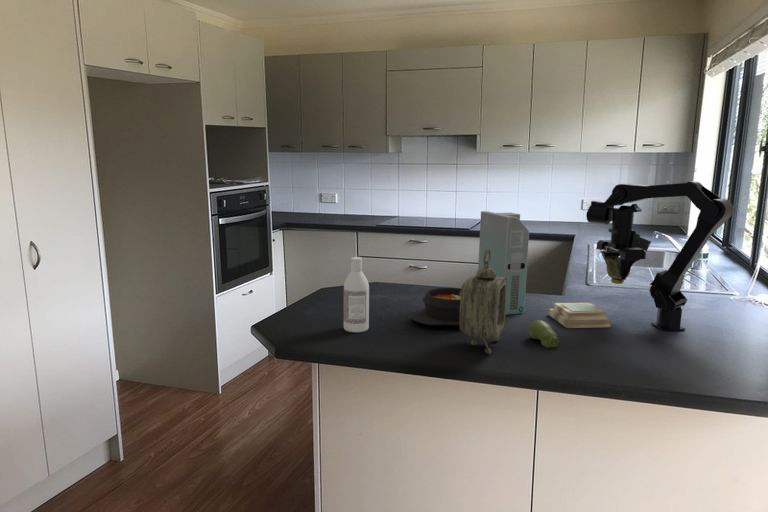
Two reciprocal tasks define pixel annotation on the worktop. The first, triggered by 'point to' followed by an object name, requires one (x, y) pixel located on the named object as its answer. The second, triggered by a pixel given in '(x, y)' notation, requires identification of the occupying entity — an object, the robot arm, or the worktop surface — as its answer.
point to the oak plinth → (579, 315)
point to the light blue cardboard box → (506, 254)
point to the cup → (614, 270)
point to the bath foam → (356, 299)
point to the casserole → (440, 307)
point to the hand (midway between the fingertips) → (617, 277)
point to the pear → (543, 333)
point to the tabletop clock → (483, 305)
